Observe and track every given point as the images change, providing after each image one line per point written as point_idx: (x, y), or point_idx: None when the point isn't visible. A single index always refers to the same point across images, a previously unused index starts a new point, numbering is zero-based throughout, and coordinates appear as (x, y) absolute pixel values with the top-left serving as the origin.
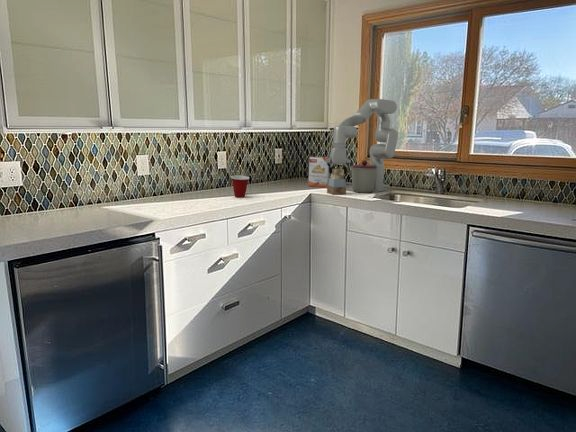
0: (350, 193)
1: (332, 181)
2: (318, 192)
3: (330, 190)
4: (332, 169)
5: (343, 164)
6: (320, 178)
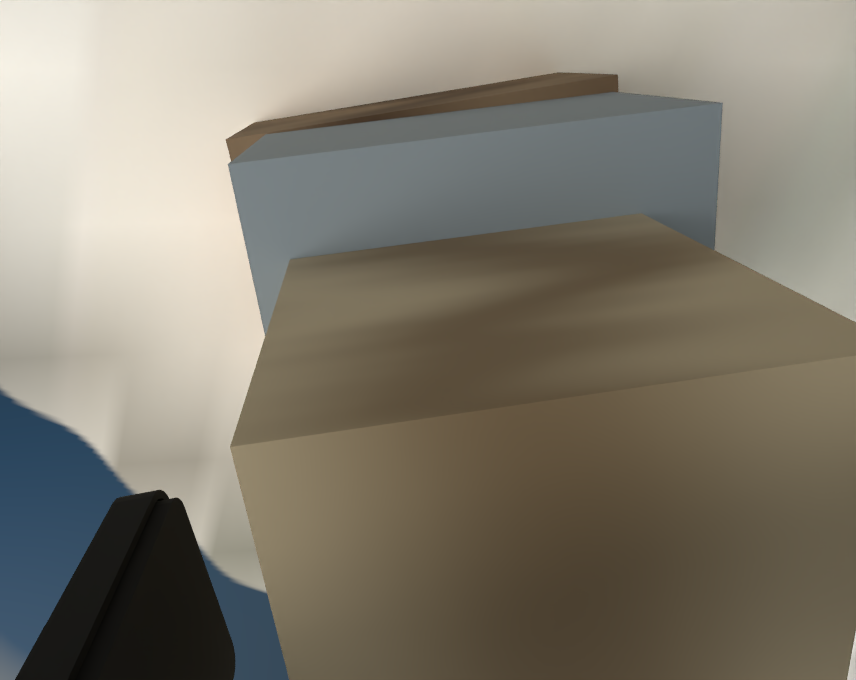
0: (737, 199)
1: None
2: (49, 59)
3: None
4: (273, 582)
5: None
6: None
